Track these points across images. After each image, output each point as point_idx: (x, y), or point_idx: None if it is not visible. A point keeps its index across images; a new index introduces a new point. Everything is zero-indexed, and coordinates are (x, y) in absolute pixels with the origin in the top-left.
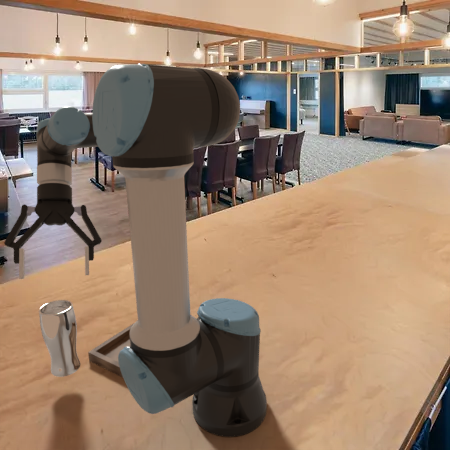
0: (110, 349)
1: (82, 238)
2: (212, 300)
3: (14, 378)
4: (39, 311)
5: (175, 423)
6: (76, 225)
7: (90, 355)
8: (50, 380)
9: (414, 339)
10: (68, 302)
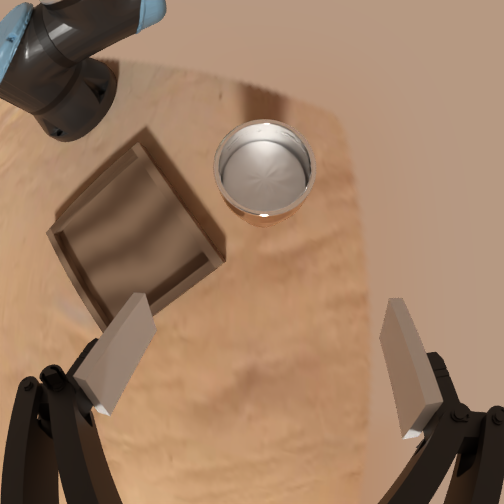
0: (184, 272)
1: (78, 423)
2: None
3: (351, 259)
4: (313, 156)
5: (136, 88)
6: (69, 497)
7: (220, 257)
8: (293, 229)
9: None
10: (226, 193)
